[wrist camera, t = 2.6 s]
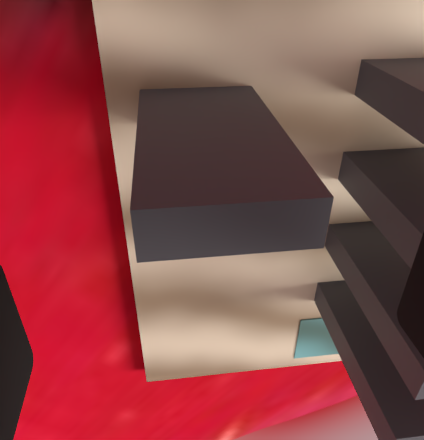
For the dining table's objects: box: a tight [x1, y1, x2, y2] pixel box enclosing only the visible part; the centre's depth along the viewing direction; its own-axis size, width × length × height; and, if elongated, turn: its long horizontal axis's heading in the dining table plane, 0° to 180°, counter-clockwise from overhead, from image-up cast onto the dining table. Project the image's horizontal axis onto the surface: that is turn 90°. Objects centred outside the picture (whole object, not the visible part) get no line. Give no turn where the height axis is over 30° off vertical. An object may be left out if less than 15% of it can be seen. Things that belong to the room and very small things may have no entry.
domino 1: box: [130, 86, 334, 263], centre depth 14 cm, size 2×5×10 cm, turn 90°
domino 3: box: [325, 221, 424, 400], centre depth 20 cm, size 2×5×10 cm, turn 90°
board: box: [92, 0, 424, 382], centre depth 23 cm, size 26×20×1 cm
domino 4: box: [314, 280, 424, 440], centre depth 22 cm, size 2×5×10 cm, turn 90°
